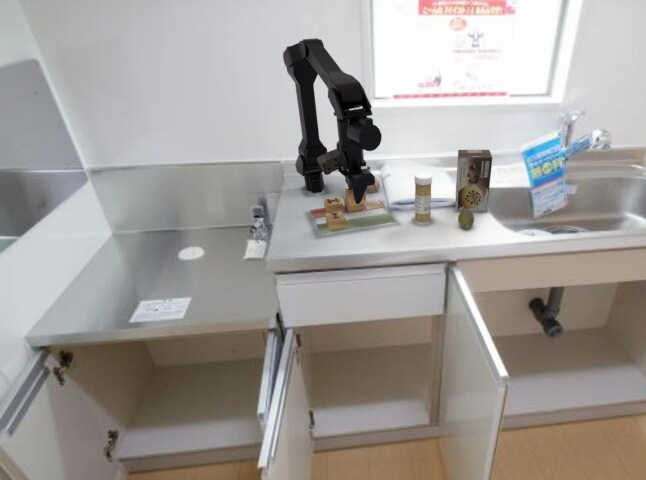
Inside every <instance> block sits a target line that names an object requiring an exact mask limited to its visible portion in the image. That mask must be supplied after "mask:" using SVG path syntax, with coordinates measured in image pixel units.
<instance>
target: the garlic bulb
mask: <svg viewBox="0 0 646 480" xmlns="http://www.w3.org/2000/svg"><path fill="white" fill-rule="evenodd" d="M366 168H367V169H368V170H369V171H371V165H366ZM380 186H381V181H380V180H379V179H378V177H376V176H375V184H374V185H370V186H368V187H367V189H366V191H365V193H366V194H373V193H377V192H379V191H378V190H379V189H380Z"/></svg>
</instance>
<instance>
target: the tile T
mask: <svg viewBox="0 0 646 480" xmlns="http://www.w3.org/2000/svg"><path fill="white" fill-rule="evenodd" d="M344 196H345V199H346V201H347V202H348V204H349V206H354V205H361V204H366V202H367V193H364V195H363V198H362V200H361V203H360V204H356V202H355V198H354V195H353V191H352V188H348V187H347V188H344Z"/></svg>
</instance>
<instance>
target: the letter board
mask: <svg viewBox="0 0 646 480" xmlns="http://www.w3.org/2000/svg"><path fill="white" fill-rule="evenodd" d="M378 209H379V210H380V209H386V206H385V205H384V204H383V202H382V201H381V199H375V200H369V201H366V204H363V210H359V211H352V212H348V211H347V209H346V207H345V205H344V204H343V210H344V213H343V215H346V214H347V215H348V214H353V213H359V212H367V211H372V210H373V211H374V210H378ZM309 213H310V214H311V217H312V219H313V220H314V219H319V218H326V216H325V214H327V212H326V210H325V207H322V208H315V209H309ZM395 222H396V223H397V220H396V219H395V218H394V217H393V215H392V214H391V213H390V212H387V213H380V214H374V215H367V216H363V217H355V218H349V219H346V226H347V228H346V229H340V230H334V231H330V230H329V228H328V226H327V223H326V222H323V223H317V224H315V226H316V228H317V231H318V232H319V235H324V234H330V233H336V232H341V231H342V232H343V231H347V230H355V229H359V228H367V227H373V226H378V225H383V224H384V225H385V224H390V223H395Z"/></svg>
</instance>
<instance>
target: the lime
mask: <svg viewBox="0 0 646 480" xmlns="http://www.w3.org/2000/svg"><path fill="white" fill-rule="evenodd" d="M457 222H458V224H459V225H460V226H461V227H462V228H464V229H465V230H469V229H472V227H473V225H474V222H475V216H474V212H472V211H470V210H468V209H466V210H463V211H462V212H459V214H458V216H457Z"/></svg>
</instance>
